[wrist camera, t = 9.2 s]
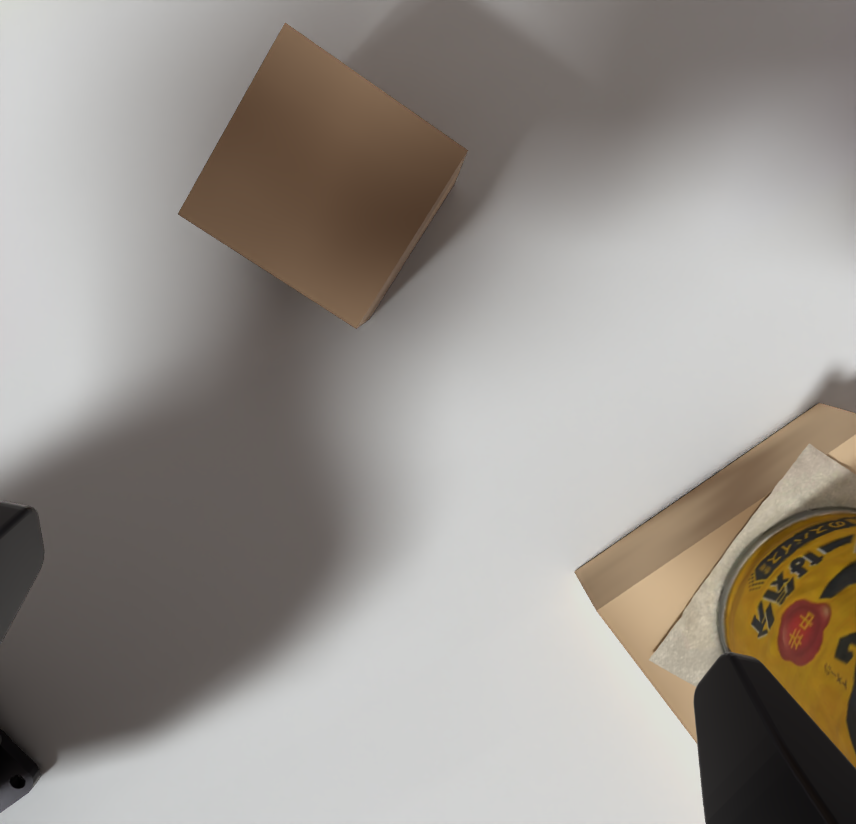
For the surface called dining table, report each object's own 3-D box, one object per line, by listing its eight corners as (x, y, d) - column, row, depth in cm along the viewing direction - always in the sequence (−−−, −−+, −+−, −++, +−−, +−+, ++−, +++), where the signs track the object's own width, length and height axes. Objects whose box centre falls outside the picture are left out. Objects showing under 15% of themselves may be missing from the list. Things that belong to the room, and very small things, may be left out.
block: (369, 319, 19) (356, 329, 14) (234, 232, 18) (178, 214, 14) (454, 183, 18) (467, 150, 14) (317, 89, 18) (285, 22, 13)
